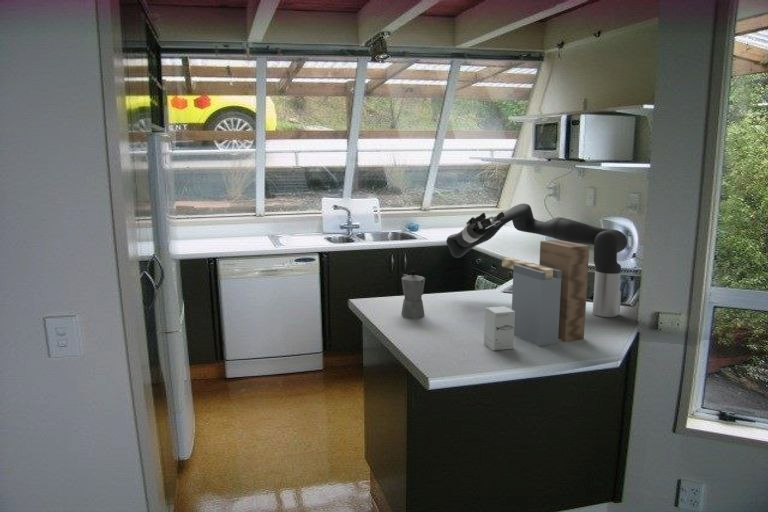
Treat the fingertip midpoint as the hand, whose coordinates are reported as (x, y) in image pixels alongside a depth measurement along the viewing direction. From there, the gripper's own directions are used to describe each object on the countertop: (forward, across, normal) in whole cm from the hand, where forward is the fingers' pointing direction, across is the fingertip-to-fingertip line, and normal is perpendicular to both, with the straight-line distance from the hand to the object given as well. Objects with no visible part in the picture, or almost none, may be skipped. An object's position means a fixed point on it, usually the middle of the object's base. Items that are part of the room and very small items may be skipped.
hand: (494, 214), depth 216 cm
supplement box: (+13, -22, +53) cm, 58 cm away
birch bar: (+17, -6, +29) cm, 34 cm away
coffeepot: (-26, -32, +30) cm, 51 cm away
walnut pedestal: (+11, +5, +51) cm, 52 cm away
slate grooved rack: (+11, -6, +51) cm, 53 cm away
